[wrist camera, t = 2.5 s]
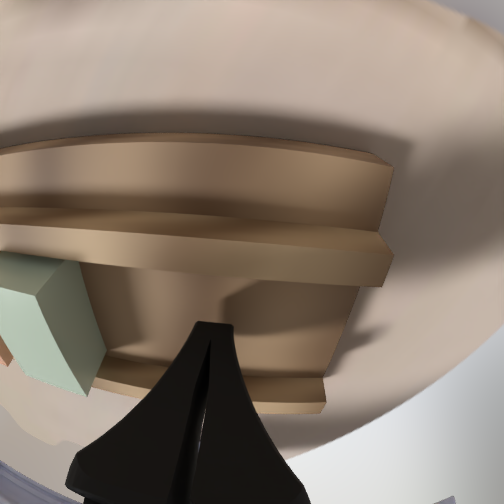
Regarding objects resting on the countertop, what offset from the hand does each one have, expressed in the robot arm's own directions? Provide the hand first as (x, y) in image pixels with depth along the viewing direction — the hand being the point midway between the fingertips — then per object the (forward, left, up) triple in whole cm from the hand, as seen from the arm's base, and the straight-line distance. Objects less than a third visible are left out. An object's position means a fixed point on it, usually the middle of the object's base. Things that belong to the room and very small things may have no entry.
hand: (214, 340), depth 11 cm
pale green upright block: (-5, +6, -1) cm, 8 cm away
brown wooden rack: (-5, +5, -3) cm, 7 cm away
